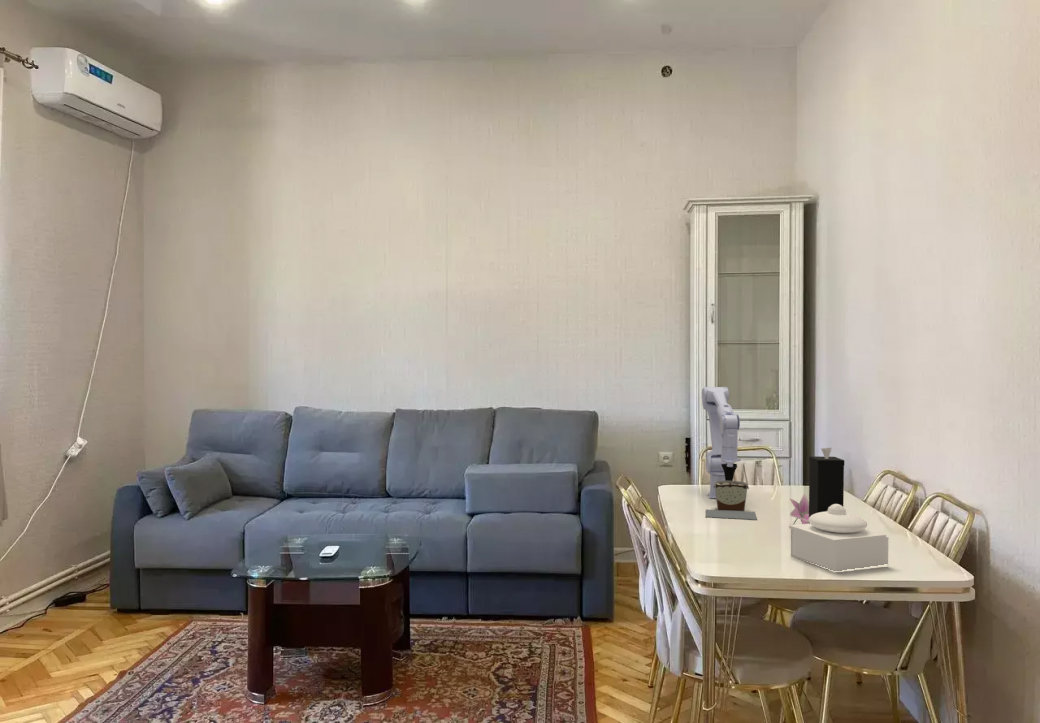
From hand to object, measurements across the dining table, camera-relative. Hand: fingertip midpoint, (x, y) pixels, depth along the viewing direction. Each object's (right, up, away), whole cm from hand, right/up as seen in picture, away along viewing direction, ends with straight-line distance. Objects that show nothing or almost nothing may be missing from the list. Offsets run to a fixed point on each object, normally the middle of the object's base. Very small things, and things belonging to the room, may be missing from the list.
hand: (728, 483), depth 287 cm
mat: (-4, -8, -18) cm, 20 cm away
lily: (+15, -9, -35) cm, 39 cm away
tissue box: (+16, -9, -51) cm, 54 cm away
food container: (-2, -8, -8) cm, 12 cm away
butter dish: (+9, -10, -76) cm, 77 cm away
